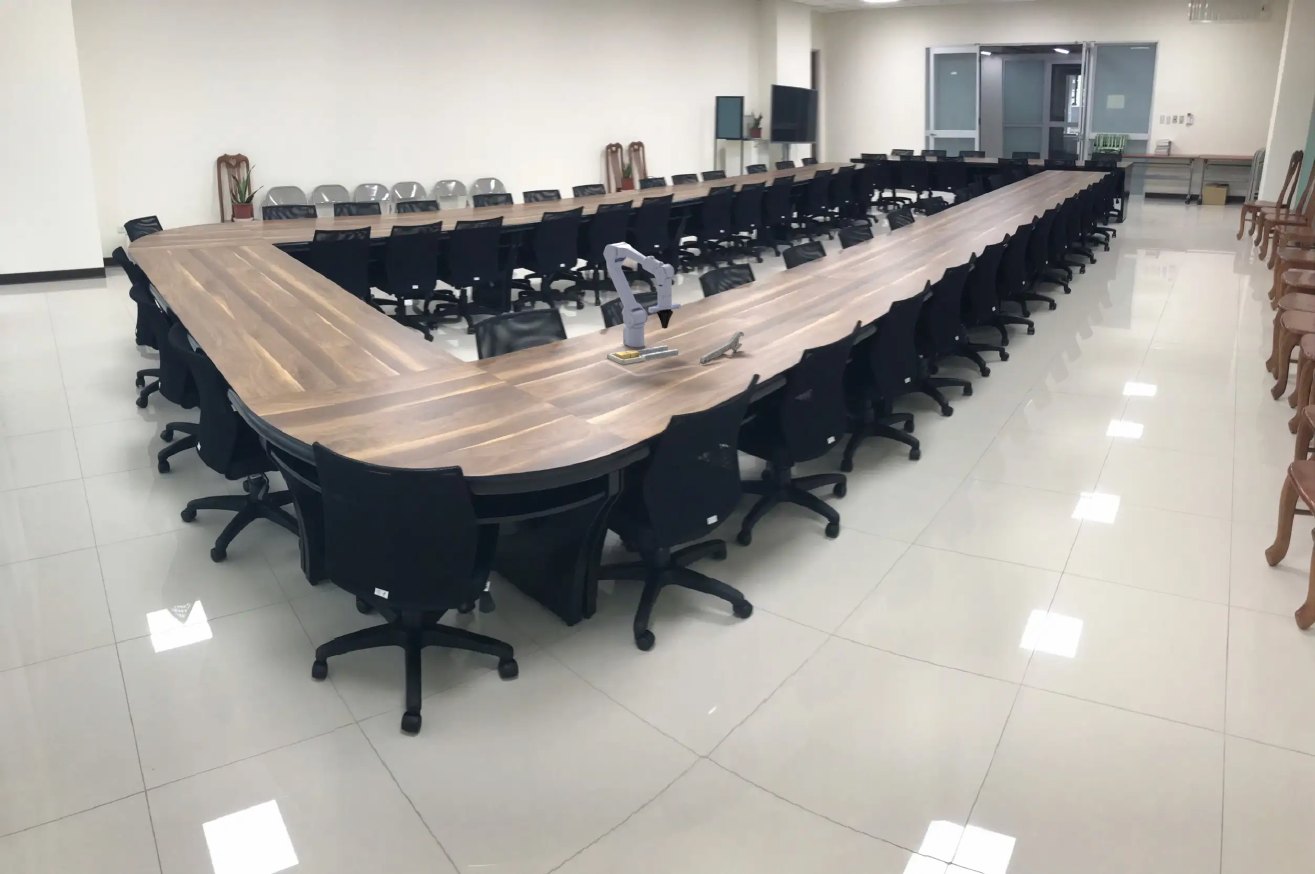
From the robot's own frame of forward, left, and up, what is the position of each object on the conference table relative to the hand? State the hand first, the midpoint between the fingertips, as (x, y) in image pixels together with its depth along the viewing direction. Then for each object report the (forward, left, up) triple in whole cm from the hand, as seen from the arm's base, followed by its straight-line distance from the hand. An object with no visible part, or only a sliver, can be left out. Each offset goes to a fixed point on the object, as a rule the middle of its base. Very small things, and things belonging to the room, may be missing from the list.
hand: (664, 328), depth 372 cm
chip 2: (+3, -18, -10) cm, 20 cm away
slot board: (+3, -7, -10) cm, 13 cm away
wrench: (+18, +16, -11) cm, 27 cm away
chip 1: (+3, -22, -10) cm, 24 cm away
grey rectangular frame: (+3, -20, -10) cm, 23 cm away
